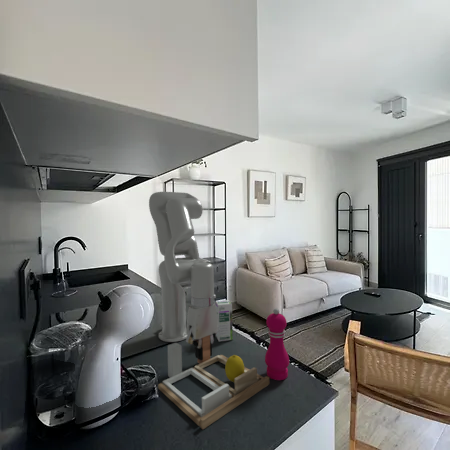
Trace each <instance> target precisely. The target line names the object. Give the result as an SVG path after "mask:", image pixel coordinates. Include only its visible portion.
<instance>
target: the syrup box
mask: <svg viewBox="0 0 450 450" xmlns="http://www.w3.org/2000/svg"><path fill="white" fill-rule="evenodd" d="M214 303H215V304H216V309H217V316H218V327H219V329H220V331H219V332H218V333H217V334H216V336H215V338H216V339H217V340H218V342H219V343H220V342H227V341H233V340H234V339H233V338H234V337H233V335H234V334H233V303H232V302H231V301H230V300H229V299H225V300H216V301H215V300H214Z"/></svg>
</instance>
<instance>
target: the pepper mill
mask: <svg viewBox="0 0 450 450" xmlns="http://www.w3.org/2000/svg"><path fill="white" fill-rule="evenodd" d="M287 323H288V322H287V319H286V317H285V316H284V315H283V314H281V313H280V310H279V309H278V308H273V311H272V313H270V314H269V315H267V318H266V323H265V324H266V327H267V328H268V329H267V330H268V332H267V333H268V336H269V345H268V348H267V350H266V351H265V356H264V363H265V364H266V376H268V377H269V379H271V380H275V381H283V380H286V379H288V376H289V369H288V367H289V366H290V365H289V364H290V357H289V354H288V352H287V349H286V348H285V344H284V337H285V336H286V333H285V332H286V330H285V329H286V327H287Z"/></svg>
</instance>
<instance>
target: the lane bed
mask: <svg viewBox="0 0 450 450" xmlns="http://www.w3.org/2000/svg"><path fill="white" fill-rule="evenodd" d="M219 356H221V357H223V358H225V359H226V360H227V359H228V358H229V357H226V356H225V355H224V354H220V355H219ZM192 368H193V369H194V370H196V369H195V368H194V367H192ZM244 369H245V370H247V371H248V370H250V368H247V367H246V366H244ZM196 371H197V372H199V371H198V370H196ZM199 373H200V374H202V373H201V372H199ZM202 375H203V376H205V375H204V374H202ZM257 376H258V377H259V381H258V382H256V383H255V384H253V385H252V386H250V387H248V388H247V389H245V390H244V391H242V392H241V393H239V394H237V395H236V396H235V395H233V394H232V393H230V392H229V393H230V394H231V395H232V398H231V399H230V400H228V401H227V402H225V403H223V404H222V405H220V406H219V407H217V408H216V409H214V410H212V411H211V412H209V413H208V414H206V415H205V416H203V417H202V418H201V417H200V416H199V415H198V414H197V413H195V412H194V411H193V410H192V409H191V408H190V407H188V406H187V405H186V404H185V403H184V402H183V401H182V400H180V399H179V398H178V397H177V396H176V395H175V394H174V393H172V392H171V391H170V390H169V389H168V388H167V387H166V386H164V385H163V382H160V383H158V384H157V385H158V386H157V387H158V389H159V391H160V392H161V393H163V394H164V395H165V396H166V398H167V399H169V400H170V401H171V402H172V403H174V404H175V406H177V407H178V408H179V409H180V410H181V411H182V412H183V413H184V414H185V415H186V416H188V418H190V419H191V420H192V421H193V422H194V423H195V424H196V425H197V426H198V427H199V428H200V429H201V430H204V429H207V428H208V427H209V426H210V425H211V424H214V423H215V422H216V421H218V420H220V419H221V418H222V417H224V416H225V415H226V414H229V412H231V411H233V410H234V409H235V408H237V407H239V405H242V404H243V403H244V402H246V401H247V400H248V399H250V398H251V397H253V396H255V395H256V394H258V393H259V392H261V391H262V390H264V389H265V388H266V387H268V386H269V385H270V377H268V375H265V376H262V375H260V374H259V373H257ZM205 377H206V378H208V377H207V376H205ZM208 379H209V380H211V379H210V378H208ZM211 381H212V382H214V381H213V380H211ZM214 383H215V382H214ZM215 384H217V383H215ZM217 385H218V384H217ZM218 386H219V387H221V386H220V385H218Z"/></svg>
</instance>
